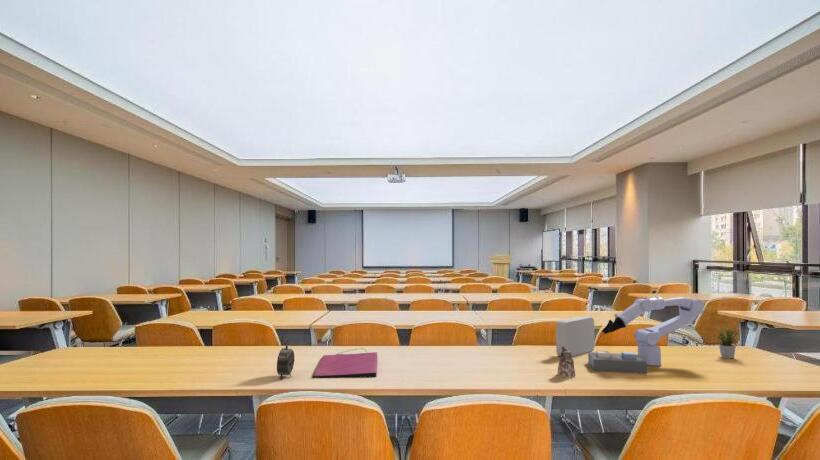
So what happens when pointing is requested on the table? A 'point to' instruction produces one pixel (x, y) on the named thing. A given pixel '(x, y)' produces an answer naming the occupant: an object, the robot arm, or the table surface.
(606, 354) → the ivory key
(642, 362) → the key deck
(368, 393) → the table surface
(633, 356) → the slate blue key
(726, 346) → the house plant
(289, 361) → the alarm clock
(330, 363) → the laptop bag
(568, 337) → the rounded white slab
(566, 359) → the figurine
